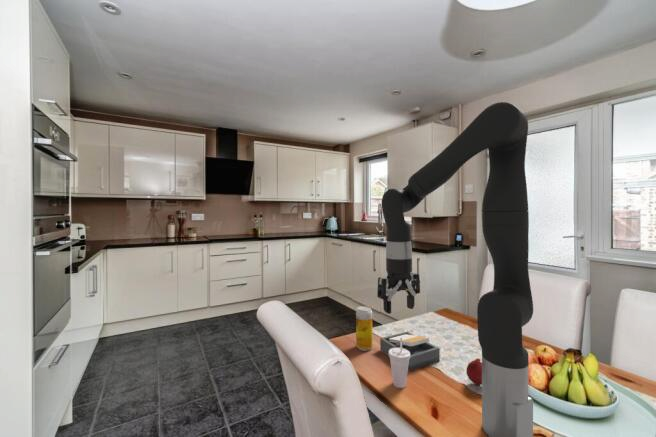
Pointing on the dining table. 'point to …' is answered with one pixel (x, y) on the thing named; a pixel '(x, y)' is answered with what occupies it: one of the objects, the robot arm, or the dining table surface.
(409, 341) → the plate
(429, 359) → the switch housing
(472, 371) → the onion
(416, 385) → the dining table surface
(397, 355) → the smoothie
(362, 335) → the glass of beer
